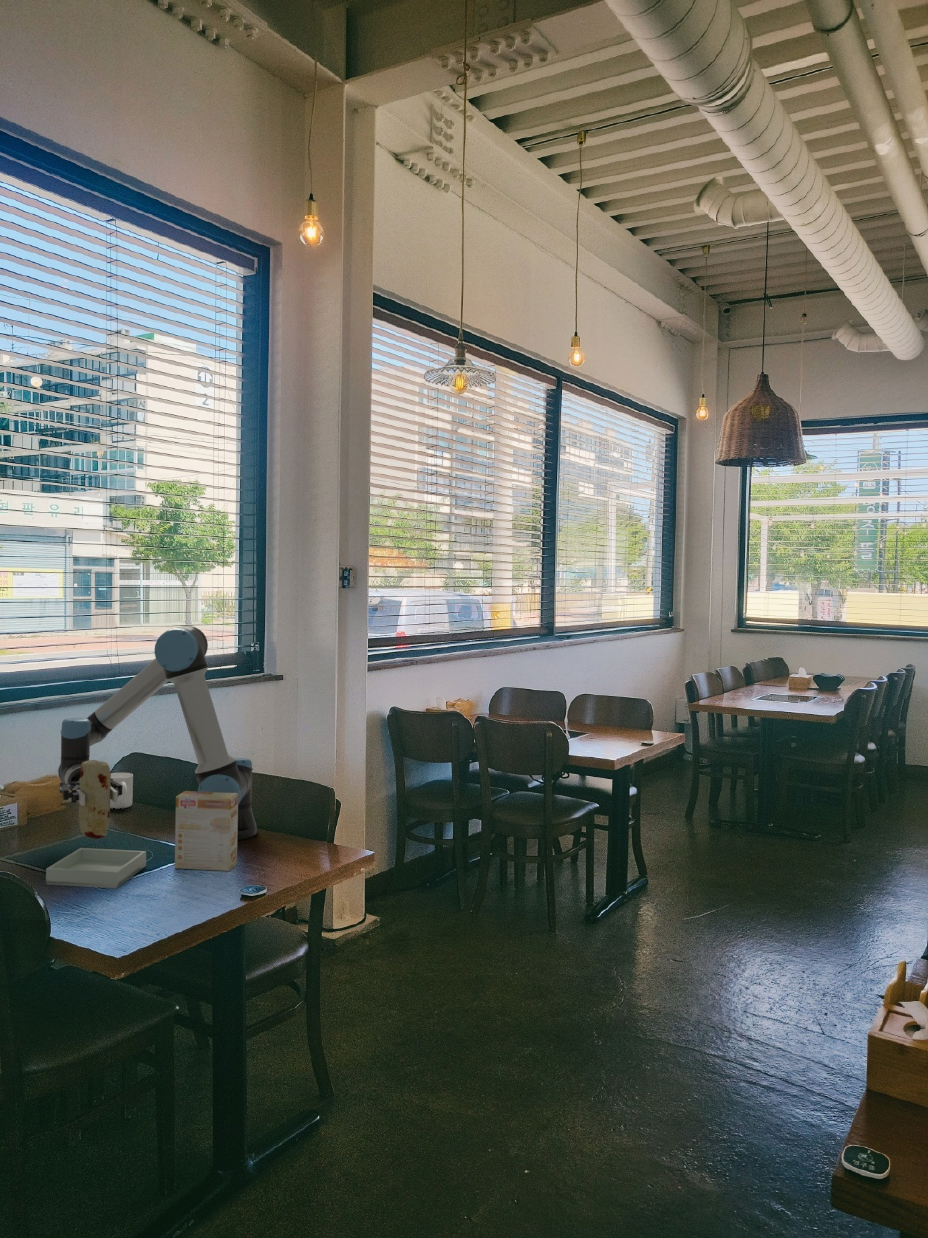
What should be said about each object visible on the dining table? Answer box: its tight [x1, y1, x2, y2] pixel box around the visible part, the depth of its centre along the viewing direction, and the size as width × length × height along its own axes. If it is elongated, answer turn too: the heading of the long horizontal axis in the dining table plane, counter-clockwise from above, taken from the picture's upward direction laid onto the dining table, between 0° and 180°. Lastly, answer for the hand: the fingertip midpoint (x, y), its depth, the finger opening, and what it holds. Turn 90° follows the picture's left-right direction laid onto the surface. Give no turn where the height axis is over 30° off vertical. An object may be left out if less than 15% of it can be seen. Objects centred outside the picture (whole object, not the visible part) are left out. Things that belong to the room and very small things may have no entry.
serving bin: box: [45, 847, 147, 889], centre depth 240 cm, size 18×18×4 cm
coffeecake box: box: [174, 790, 238, 872], centre depth 250 cm, size 15×7×20 cm, turn 86°
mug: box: [110, 772, 134, 810], centre depth 309 cm, size 12×8×10 cm
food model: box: [78, 759, 112, 840], centre depth 242 cm, size 10×7×20 cm
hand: (99, 798), depth 238 cm, fingers closed on food model, 7 cm apart
